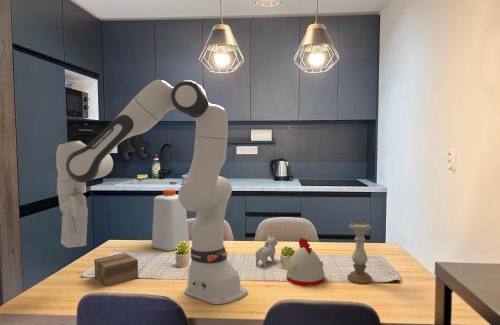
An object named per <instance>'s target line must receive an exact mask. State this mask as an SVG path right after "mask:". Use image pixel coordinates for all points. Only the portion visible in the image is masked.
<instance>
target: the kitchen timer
mask: <svg viewBox="0 0 500 325" xmlns="http://www.w3.org/2000/svg"><path fill="white" fill-rule="evenodd" d="M308 240H309V239H306V238H303V237H301V238H300V239H299V240H298V245H299V249H297V250H296V251H295V252H294V253H293V255H292V256H291V257H290V260H287V263H286V264H287V266H286V281H287V282H288V283H290V284H292V285H294V286H295V285H296V286H300V287H301V286H302V287H316V286H319V285H321V284H324V282H325V272H324V268H323V267H324V262H323V260H320V257H319V256H318V254H317V253H316V252H315V251H314V250H313V249H312V247H311V246H310V245H311V244H310V243H308Z"/></svg>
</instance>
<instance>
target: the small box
mask: <svg viewBox="0 0 500 325" xmlns="http://www.w3.org/2000/svg"><path fill="white" fill-rule="evenodd" d="M88 212H89V208H88V207H87V217H86V218H82V224H81V230H78V231H77V230H75V226H74V225H75V218H74V217H72V216H71V209H69V208H67V207H65V206H63V212H61V214H62V215H61V216H62V217H61V232H60V235H61V236H60V244H61V245H63V246H64V247H65V248H77V247H79V248H80V247H86V246H87V236H88V235H87V233H88V216H89V215H88V214H89V213H88Z"/></svg>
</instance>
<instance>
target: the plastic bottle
mask: <svg viewBox="0 0 500 325" xmlns="http://www.w3.org/2000/svg"><path fill="white" fill-rule="evenodd" d="M152 213H153V214H152V215H153V216H152V233H151V234H152V236H151V237H152V238H151V239H152V240H151V245H152V248H154V249H155V250H156V249H157V250H161V251H166V252H172V251H177V250H176V246H177V244H178V243H179V242H180V241H186V242H188V243H190V239H189V238H190V237H189V228H188V226H189V225H188V217H187V215H188V213H187V210H186V209H184V208H183V207H182V206H181V204H180V202H179V199H178V194H177V192H176V189H171V188H170V189H169V188H167V189H163V191H162V194H161V195H157V196H155V197H154V199H153V212H152Z"/></svg>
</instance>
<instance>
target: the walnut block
mask: <svg viewBox="0 0 500 325" xmlns="http://www.w3.org/2000/svg"><path fill="white" fill-rule="evenodd" d="M93 262H94V263H93V264H94V278H95V279H96V280H98V281H99V282H100V283H101V284H103V285H104V287H110V286H112V285H117V284H121V283H125V282H128V281H133V280H136V279H137V280H138V279H139V265H138V264H139V263H138V259H137V258H135V257H133V256H132V255H129V254H128V253H126V252H122V253H118V254H113V255H109V256H103V257H99V258H95V259H94V260H93Z"/></svg>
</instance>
